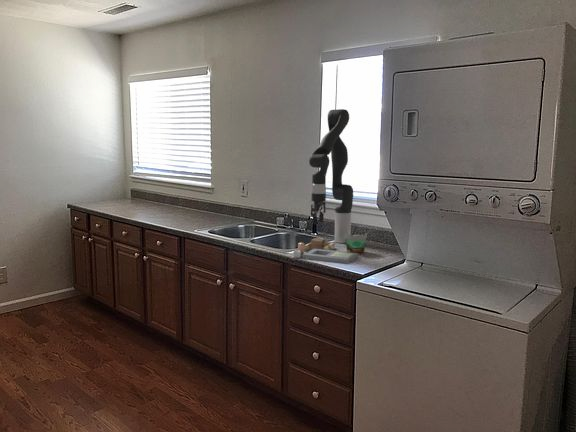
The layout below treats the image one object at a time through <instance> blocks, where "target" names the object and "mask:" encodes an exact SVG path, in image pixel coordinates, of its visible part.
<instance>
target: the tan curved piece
mask: <svg viewBox="0 0 576 432" xmlns="http://www.w3.org/2000/svg"><path fill="white" fill-rule="evenodd" d="M335 244H336V242H331V241H325V247H323V249H324V250H334V249H335ZM310 250H311V242H309V243H307V244H304V252H306V251H307V252H308V251H310Z"/></svg>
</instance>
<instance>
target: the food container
mask: <svg viewBox="0 0 576 432" xmlns="http://www.w3.org/2000/svg"><path fill="white" fill-rule="evenodd" d="M344 238H346V243H345V246H346V247H345V249H346V252H351V253H358V255H362V254H364V253H365V249H366V248H365V247H366V240H367V238H368V235H367V232H365V233H364V234H352V235H347V234H345V237H344Z"/></svg>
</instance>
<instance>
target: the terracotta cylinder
mask: <svg viewBox="0 0 576 432" xmlns="http://www.w3.org/2000/svg"><path fill="white" fill-rule="evenodd" d="M304 245H305V243H304V242H298V243H297V250H301V256H303V254H304V253H305V251H304Z"/></svg>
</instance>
